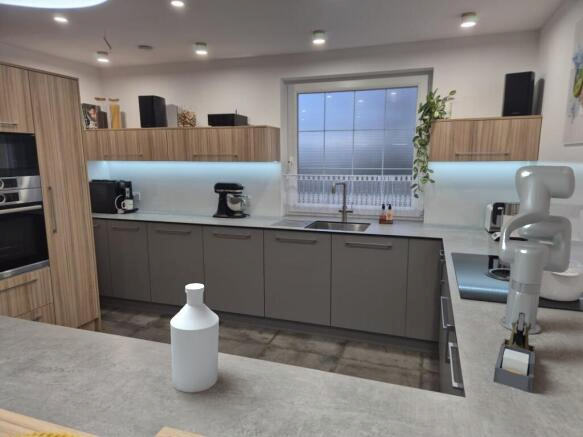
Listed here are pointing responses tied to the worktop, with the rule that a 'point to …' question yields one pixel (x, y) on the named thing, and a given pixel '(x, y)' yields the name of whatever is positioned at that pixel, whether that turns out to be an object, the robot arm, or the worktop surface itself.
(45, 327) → the worktop surface
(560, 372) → the worktop surface
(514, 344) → the cork
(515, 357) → the white block
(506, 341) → the wooden square frame
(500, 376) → the grey divided tray
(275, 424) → the worktop surface
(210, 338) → the bottle
